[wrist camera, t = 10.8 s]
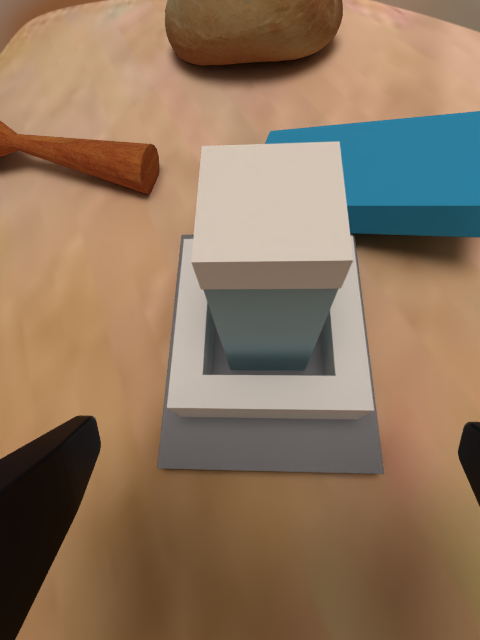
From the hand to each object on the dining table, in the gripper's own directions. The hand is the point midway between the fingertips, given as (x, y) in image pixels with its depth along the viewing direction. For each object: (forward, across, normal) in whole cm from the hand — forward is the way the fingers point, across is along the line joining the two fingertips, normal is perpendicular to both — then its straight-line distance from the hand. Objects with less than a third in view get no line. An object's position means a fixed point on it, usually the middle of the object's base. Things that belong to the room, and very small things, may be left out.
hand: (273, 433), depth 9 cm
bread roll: (+32, +1, -16) cm, 36 cm away
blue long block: (+19, -8, -3) cm, 21 cm away
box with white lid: (+11, 0, +2) cm, 11 cm away
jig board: (+12, 0, +3) cm, 12 cm away
